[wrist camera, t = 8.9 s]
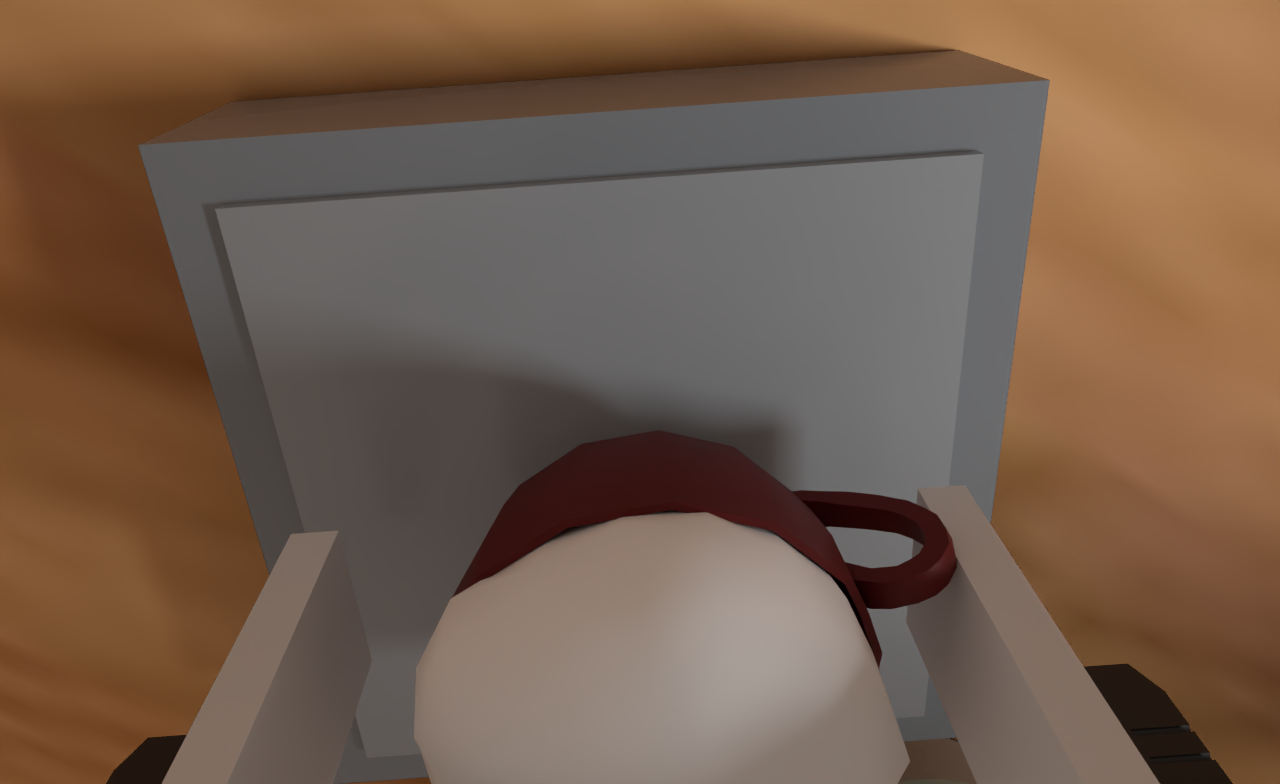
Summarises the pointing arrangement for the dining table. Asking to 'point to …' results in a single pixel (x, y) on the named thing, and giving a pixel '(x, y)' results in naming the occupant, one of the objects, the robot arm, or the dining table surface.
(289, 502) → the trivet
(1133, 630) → the dining table surface
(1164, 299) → the dining table surface
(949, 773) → the coffee cup
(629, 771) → the cocoa
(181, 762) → the robot arm
